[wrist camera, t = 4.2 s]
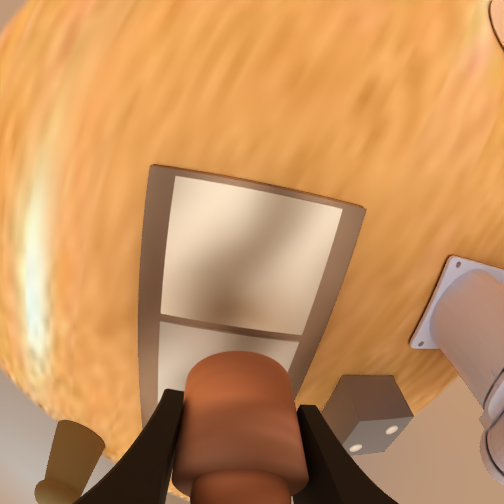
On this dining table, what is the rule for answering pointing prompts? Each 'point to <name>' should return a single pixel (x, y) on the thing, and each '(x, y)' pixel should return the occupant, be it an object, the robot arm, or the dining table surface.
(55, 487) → the olive brown pawn
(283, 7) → the dining table surface
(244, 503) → the pawn
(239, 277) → the game board
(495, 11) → the can
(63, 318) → the dining table surface
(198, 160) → the dining table surface
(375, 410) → the die
